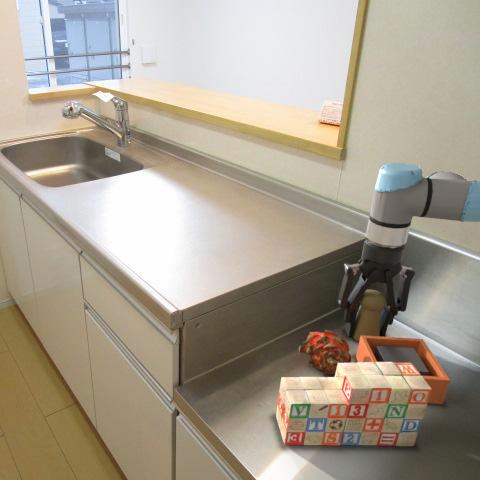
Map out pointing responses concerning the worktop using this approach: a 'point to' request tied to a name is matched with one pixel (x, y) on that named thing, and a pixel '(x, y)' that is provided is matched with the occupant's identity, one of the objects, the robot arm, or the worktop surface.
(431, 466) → the worktop surface
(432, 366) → the crate
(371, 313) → the cork
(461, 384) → the worktop surface
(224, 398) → the worktop surface
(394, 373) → the stack of blocks
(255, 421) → the worktop surface
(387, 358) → the grey block
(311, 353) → the dragon fruit
